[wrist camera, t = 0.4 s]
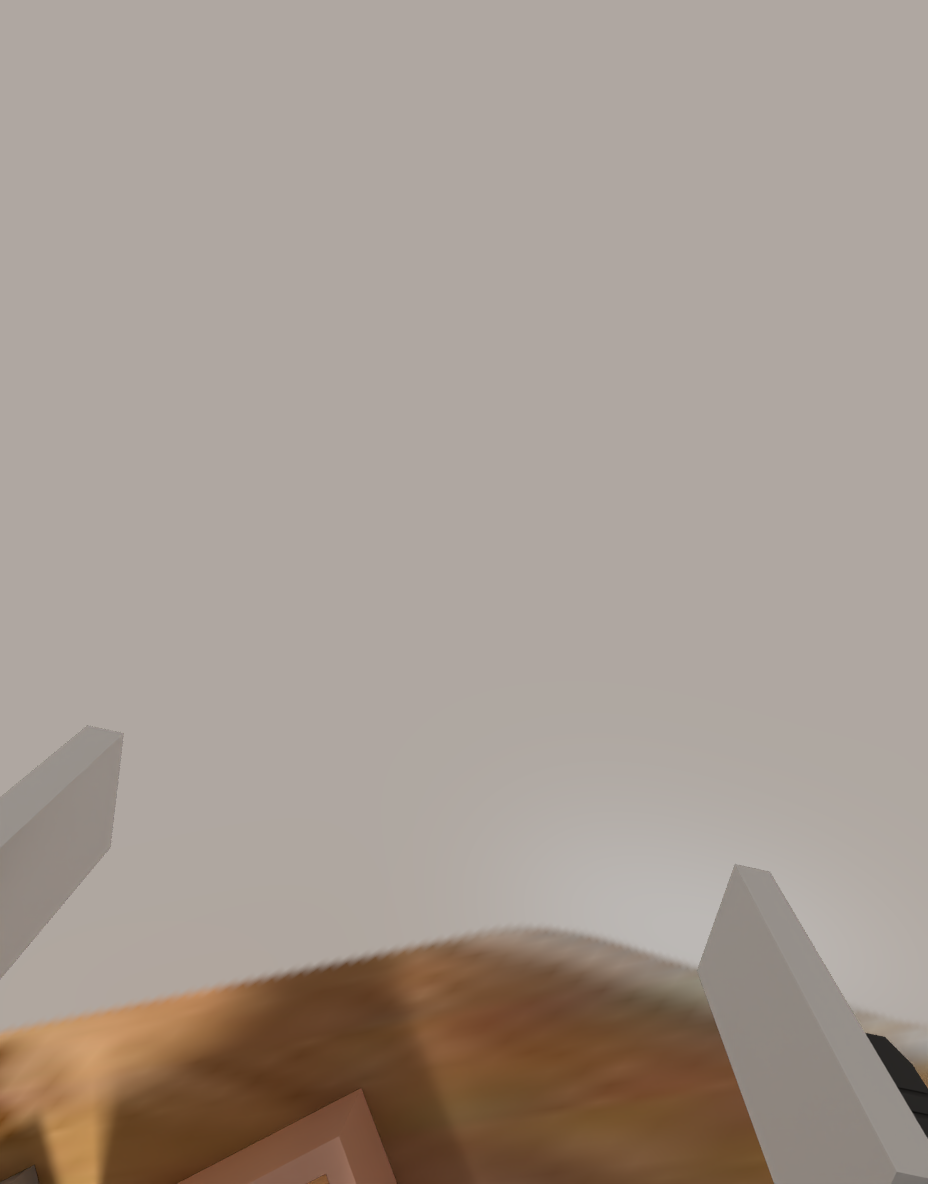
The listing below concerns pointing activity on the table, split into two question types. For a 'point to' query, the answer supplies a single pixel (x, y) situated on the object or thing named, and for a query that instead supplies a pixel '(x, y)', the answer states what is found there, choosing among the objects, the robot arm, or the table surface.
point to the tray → (23, 1177)
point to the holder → (311, 1151)
